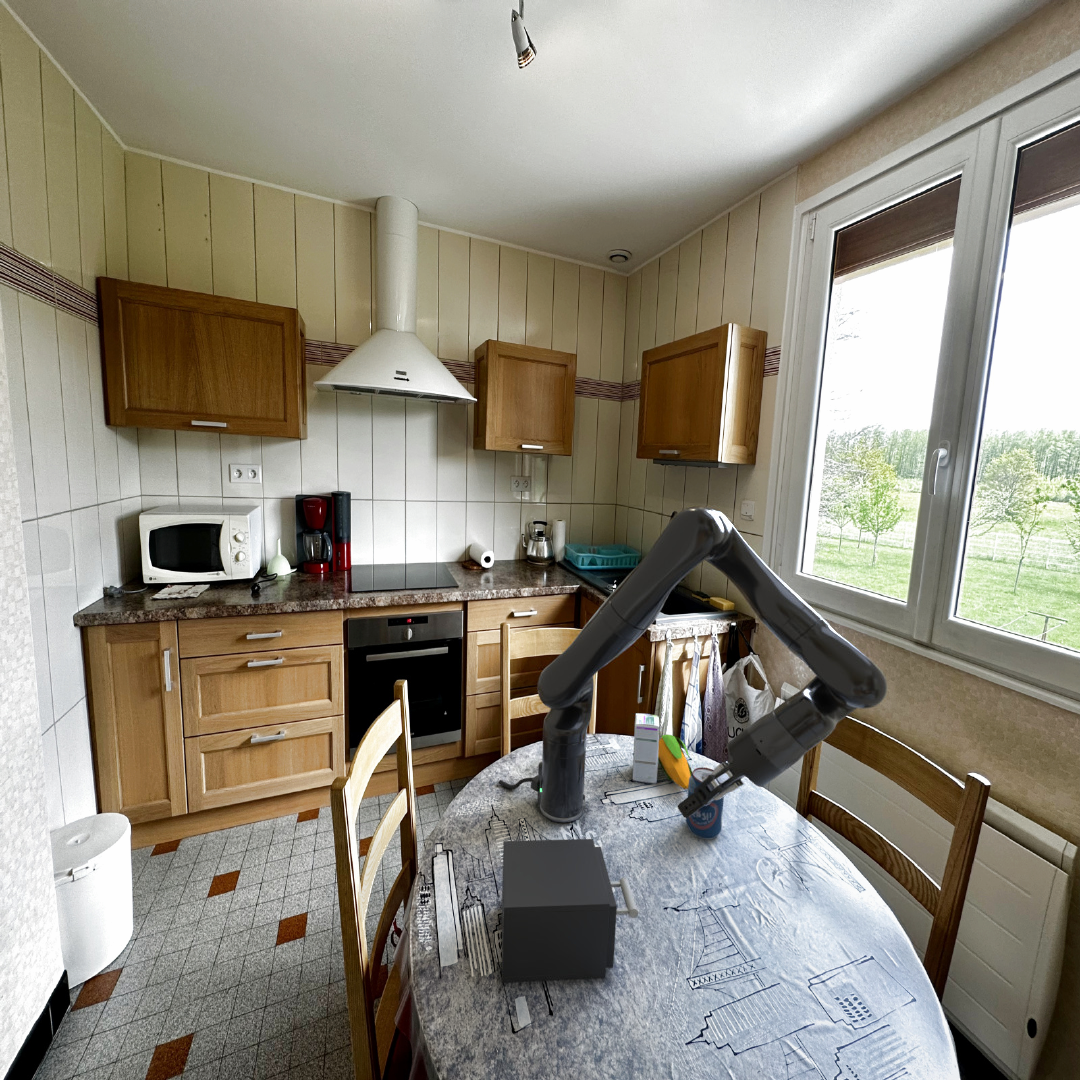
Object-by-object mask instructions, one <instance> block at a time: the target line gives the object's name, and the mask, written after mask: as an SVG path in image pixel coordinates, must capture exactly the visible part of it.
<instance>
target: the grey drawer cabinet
mask: <svg viewBox="0 0 1080 1080" xmlns="http://www.w3.org/2000/svg"><path fill="white" fill-rule="evenodd" d="M502 847H503V848H502V849H503V850H502V852H503V853H502V884H501V885H502V887H501V888H502V889H501V983H502V984H508V983H509V984H510V983H530V982H531V983H533V982H551V981H552V982H553V981H574V980H593V979H595V980H596V979H606V977H607V968H606V960H607V943H608V925H609V908H610V903H609V899H608V895H607V891H606V887H605V883H604V879H603V876H602V872H601V868H600V864H599V860H598V856H597V852H596V848H595V847H596V843H595V841H594V838H575V839H572V838H571V839H537V840H536V839H535V840H504V841H503V845H502Z"/></svg>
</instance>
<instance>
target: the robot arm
mask: <svg viewBox="0 0 1080 1080" xmlns="http://www.w3.org/2000/svg"><path fill="white" fill-rule="evenodd" d="M704 561H706V562H707V563H709V564H710V565H712V566H713V567H714V568H716V569H717V570H718V571H719V572H720V573H721V574H723V575H724V576H725V577H726V578H727V579H728V580H729V581H730V582H731V583H732V584H733V585H734V586H735V587H736V589H737V590H738V591H739V592H740V594H741V595H742V596H743V598H744V600H745V601H746V602H747V604H748V605H749V607H750V609H751V610H752V612H754V614H755V615H756V617H757V618H758V619H759V621H761V623H762V624H763V625H764V626H765V627H766V628H767V629H768V631H770V633H771V634H773V635H774V637H775V638H777V640H779V642H781V643H782V644H783V645H784V647H786V648H787V649H788V650H789V651H790V652H791V653H792V654H793V655H795V656H796V657H797V658H799V659H800V660H801V661H802V662H803V663H804V664H805V665H806V666H807V667H808V668H809V669H810V670H811V672H812V673H814V675H815V676H814V677H813V678H812V679H811V680H810V681H809V682H808V683H807V684H806V685H805V686H804V687H803V688H802V689H800V690H799V691H798V692H796V693H794V694H793V695H791V696H789V697H788V698H787V699H786V700H785V701H783V702H782V703H781V704H779V705H778V706H777V707H775V708H774V709H773V710H771V711H770V712H768V713H766V714H765V715H763V716H761V717H760V718H758V719H756V721H754V722H753V723H752V724H751V725H749V726H748V727H746V728H745V729H744V730H743V731H741V732H740V733H739V734H738V735H736V736H735V737H734V738H732V739H731V740H729V741H728V742H727V745H726V749H727V751H728V754H729V755H730V756H731V758H732V761H731V762H728V761H724V762H721V763H719V764H718V765H717V766H716V767H714V769H713V770H714V771H713V772H712V773H711V774H709V775H708V776H707V777H706V778H704V779H703V781H702V783H701V784H700V785H699V786H698V787H696V788H694V790H693V791H694V793H693V794H691V795H690V796H689V797H688V796H687V797H686V798H684V799H683V800H682V801H681V802H680V803H678V804H677V810H678V811H679V812H680V814H681V815H682V817H683V818H685V819H686V818H688V817H690V816H691V815H692V814H694V813H695V812H696V811H698V810H699V809H700V808H702V807H703V806H707V805H708V804H710V803H711V801H713V800H714V801H715V800H719V799H721V798H723V797H724V798H725V796H727V795H729V794H730V793H732V792H734V791H736V790H739V788H741V787H742V786H744V784H745V783H744V782H743V780H742V779H744V778H745V777H747V778H748V780H749V781H750V782H751V783H752V784H753V785H755V786H757V787H759V788H763V787H765V786H767V785H768V784H769V783H771V782H772V781H773V780H775V779H776V778H777V777H779V776H780V775H781V774H782V773H784V772H785V771H787V770H788V769H789V768H791V767H792V766H794V765H795V764H797V762H799V760H801V759H802V758H803V757H804V756H805V755H806V754H807V753H808V752H809V751H811V750H812V749H813V748H815V747H816V746H818V745H819V744H820V743H821V742H823V741H824V740H825V739H826V738H828V737H829V736H830V735H831V734H832V733H833V732H834V731H835V729H836V728H837V725H838V723H839V722H841V721H842V720H844V719H845V718H846V717H847V716H849V715H850V714H852V713H854V711H856V710H857V709H862V710H864V709H865V710H867V709H871V708H874V707H876V706H878V705H879V704H881V703H882V702H883V701H884V699H885V698H886V696H887V692H888V682H887V679H886V675H885V674H884V673H883V671H882V670H881V669H880V668H879V667H878V666H877V665H876V663H874V661H872V660H871V659H870V658H869V657H867V656H866V655H865V654H864V653H863V652H861V651H860V650H859V649H858V648H857V647H855V646H854V645H853V644H852V643H850V641H848V640H847V639H846V638H844V637H843V636H841V634H839V633H838V632H837V631H836V629H834V628H833V627H832V625H831V624H830V623H829V622H828V621H827V620H826V619H825V618H824V617H823V616H822V615H821V614H820V613H818V611H817V610H816V609H814V608H813V607H812V606H811V605H810V604H808V603H807V601H806V600H804V599H803V598H802V597H801V596H800V595H799V594H797V592H796V591H794V590H793V589H792V588H791V587H790V586H789V585H788V584H787V583H786V582H784V581H783V580H782V579H781V578H780V577H779V576H778V575H777V574H776V573H775V572H774V571H773V570H772V569H771V568H770V567H769V566H768V565H767V564H766V563H765V562H764V561H763V560H762V559H761V557H759V556H758V554H757V553H756V552H755V551H754V550H753V549H752V548H751V546H750V545H748V542H746V541H745V539H744V538H743V537H742V535H741V534H740V532H739V531H738V530H737V529H736V528H735V526H734V525H733V523H731V521H730V520H729V519H728V517H727V516H726V515H725V514H724V513H723V512H722V511H720V510H718V509H716V508H713V507H707V506H691V507H686V508H684V509H682V510H680V511H678V512H677V513H676V514H675V515H674V516H673V517H671V519H670V520H669V522H667V525H666V526H665V528H664V529H663V530H662V532H661V534H660V535H659V536H658V538H657V540H656V541H655V542H654V544H653V546H652V547H651V548H650V550H649V551H648V553H647V554H646V555H645V557H644V558H643V559H642V560H641V561H640V563H639V564H638V565H636V567H634V569H633V570H631V572H629V574H628V575H627V576H626V577H625V578H624V579H623V580H622V582H620V584H619V585H618V586H617V587H616V588H615V589H614V590H613V591H612V592H611V594H609V596H607V598H606V599H605V600H604V602H602V604H601V605H600V606H599V608H598V609H597V610H596V612H595V613H594V614H593V615H592V616H591V618H590V619H589V620H588V621H587V622H586V624H585V625H584V626H583V627H582V629H581V630H580V632H579V633H578V634H577V636H576V637H575V638H574V640H573V641H572V642H571V644H570V645H569V646H568V647H567V648H566V649H565V650H564V651H563V652H562V653H560V654H559V655H558V656H557V657H556V658H555V659H554V660H553V661H552V662H551V663H549V665H547V666H546V667H545V668H544V669H542V672H541V673H540V675H539V677H538V680H537V695H538V697H539V700H540V701H541V703H542V704H543V705H544V706H545V707H547V708H549V711H548V712H547V714H546V716H545V717H544V720H543V724H542V725H543V726H542V727H543V728H542V754H541V761H540V762H539V763H538V766H537V767H538V768H537V775H535V776H532V777H531V776H530V777H524V778H521V779H520V780H518V781H517V782H516V783H515V784H509V783H507V782H505V781H504V780H502V779H499V781H498V784H499V785H501V786H503V787H504V788H506V789H509V790H516V789H518V788H519V787H520V786H521V785H522V784H524V783H530V789H531V790H533V791H535V792H536V793H537V795H536V796H537V797H536V805H537V806H538V807H539V811H540V812H541V814H542V815H543V816H544V817H545V818H546V819H548V820H550V821H552V822H557V823H571V822H574V821H577V820H578V819H579V818H580V817H582V815H583V814H584V802H586V795H585V775H586V758H587V757H586V752H587V734H588V732H587V731H588V727H589V725H590V722H591V718H592V712H593V711H592V710H593V703H594V702H593V700H594V687H595V685H594V683H595V682H594V676H595V675H596V674H597V673H598V672H599V671H600V670H601V669H602V668H604V667H605V666H606V665H608V664H609V663H611V662H612V661H614V660H615V659H616V658H617V657H619V656H620V655H621V654H623V653H624V652H625V651H627V649H629V648H630V647H631V646H632V645H634V643H636V642H637V640H638V639H639V638H641V636H642V635H643V634H644V633H645V632H646V631H647V630H648V629H649V628H650V627H651V626H652V624H653V623H654V622H655V621H656V619H657V617H658V616H659V615H660V612H661V611H662V609H663V607H664V605H665V604H666V601H667V599H668V597H669V595H670V594H671V592H672V591H673V590H674V588H675V587H676V586H677V585H678V584H679V583H680V582H681V581H682V580H683V579H684V578H685V577H686V576H687V575H688V574H690V572H691V571H693V570H694V569H695V568H697V566H699V565H700V564H702V563H703V562H704Z"/></svg>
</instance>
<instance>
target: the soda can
mask: <svg viewBox="0 0 1080 1080" xmlns="http://www.w3.org/2000/svg"><path fill="white" fill-rule="evenodd" d="M713 771H714V769H712V768H709V767H703V766H702V767H697V768H694V769H693V770H692V775H691V776H690V778H689V786H688V789H687V797H689V796H690V795H691V794H693V793H694V791H693V790H694V788H696V787H698V786H699V785H700V784H701V783H702V781H703V779H704V778H706V777H707V776H708V775H709V774H711V773H712V772H713ZM724 798H725V796H724V797H723V798H721V799H719V800H715V801H714V800H713V801H711V803H710V804H708V805H707V806H703V807H702V808H700V809H699V810H698V811H696V812H695V813H694V814H692V815H691V816H690V817H688V818H685V823H686V826H687V828H688V829H689V831H690V832H691V834H692V835H694V836H695V837H697V838H700V839H702V840H713V839H714V838H716V837H717V836H718V835H719V834H720V833H721V832H722V825H723V824H722V823H723V812H724V802H725V801H724V800H725V799H724Z"/></svg>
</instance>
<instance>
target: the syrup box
mask: <svg viewBox="0 0 1080 1080" xmlns="http://www.w3.org/2000/svg"><path fill="white" fill-rule="evenodd" d="M633 734H634V735H633V736H634V737H633V755H632V757H633V758H632V759H633V760H632V780H633V781H635V782H640V783H647V784H655V785H656V784H657V780H658V767H659V766H658V765H659V761H658V749H659V740H660V717H659V715H656V714H650V713H638V712H637V713H635V719H634V733H633Z"/></svg>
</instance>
